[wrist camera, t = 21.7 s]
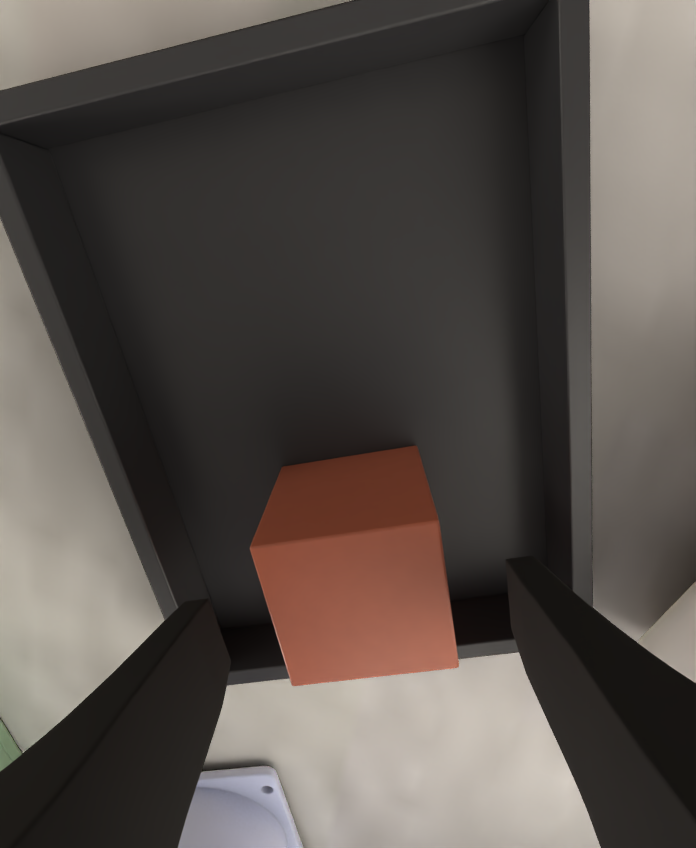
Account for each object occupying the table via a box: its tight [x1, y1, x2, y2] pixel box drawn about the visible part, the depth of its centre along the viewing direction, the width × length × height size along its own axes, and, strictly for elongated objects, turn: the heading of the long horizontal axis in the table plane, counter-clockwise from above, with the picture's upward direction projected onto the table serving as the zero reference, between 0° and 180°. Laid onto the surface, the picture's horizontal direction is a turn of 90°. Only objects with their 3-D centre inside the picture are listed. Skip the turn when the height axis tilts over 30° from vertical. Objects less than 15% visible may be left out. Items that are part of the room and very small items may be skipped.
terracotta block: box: [250, 446, 459, 686], centre depth 13 cm, size 4×4×4 cm
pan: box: [0, 0, 593, 685], centre depth 13 cm, size 17×13×2 cm
